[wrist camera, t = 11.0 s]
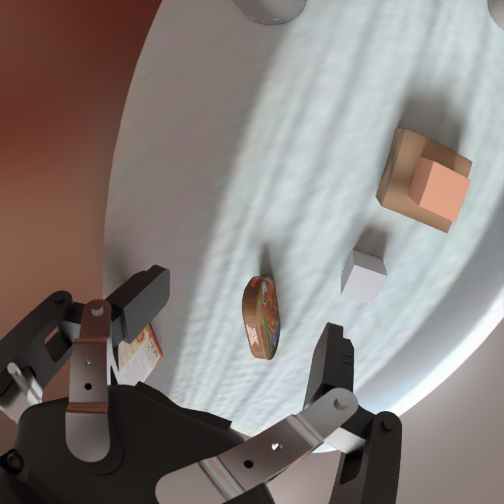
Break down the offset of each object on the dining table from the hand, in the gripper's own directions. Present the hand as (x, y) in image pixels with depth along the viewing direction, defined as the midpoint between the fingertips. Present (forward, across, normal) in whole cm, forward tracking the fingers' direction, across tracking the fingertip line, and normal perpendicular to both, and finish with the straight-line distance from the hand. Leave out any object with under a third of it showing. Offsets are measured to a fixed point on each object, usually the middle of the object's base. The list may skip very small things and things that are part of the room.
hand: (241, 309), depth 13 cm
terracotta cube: (+22, -15, -7) cm, 28 cm away
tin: (+28, +1, +21) cm, 35 cm away
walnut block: (+27, -15, -7) cm, 32 cm away
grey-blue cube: (+27, -12, +9) cm, 31 cm away
